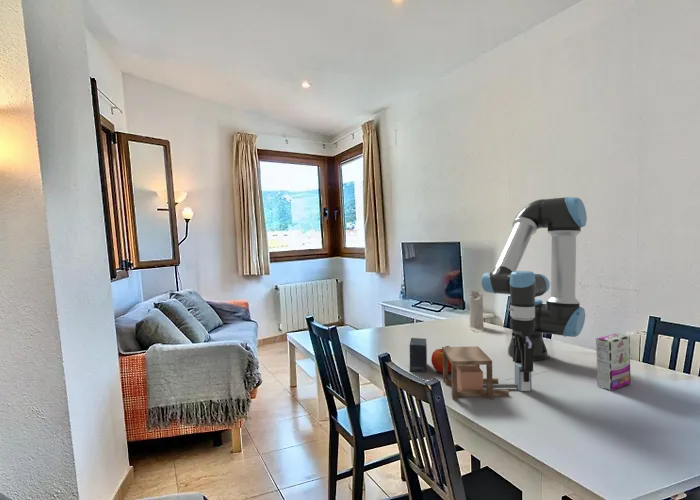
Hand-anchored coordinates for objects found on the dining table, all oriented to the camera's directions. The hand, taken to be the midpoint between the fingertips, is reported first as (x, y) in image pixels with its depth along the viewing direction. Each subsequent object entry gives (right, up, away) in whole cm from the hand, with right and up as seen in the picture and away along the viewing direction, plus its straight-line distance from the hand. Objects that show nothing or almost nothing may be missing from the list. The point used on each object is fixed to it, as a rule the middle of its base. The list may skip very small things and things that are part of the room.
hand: (522, 387), depth 136 cm
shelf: (-16, -1, +1) cm, 16 cm away
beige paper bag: (+11, +3, +83) cm, 83 cm away
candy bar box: (+30, 0, 0) cm, 30 cm away
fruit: (-22, 0, +19) cm, 29 cm away
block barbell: (-9, -1, +1) cm, 9 cm away
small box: (-30, -1, +24) cm, 39 cm away
